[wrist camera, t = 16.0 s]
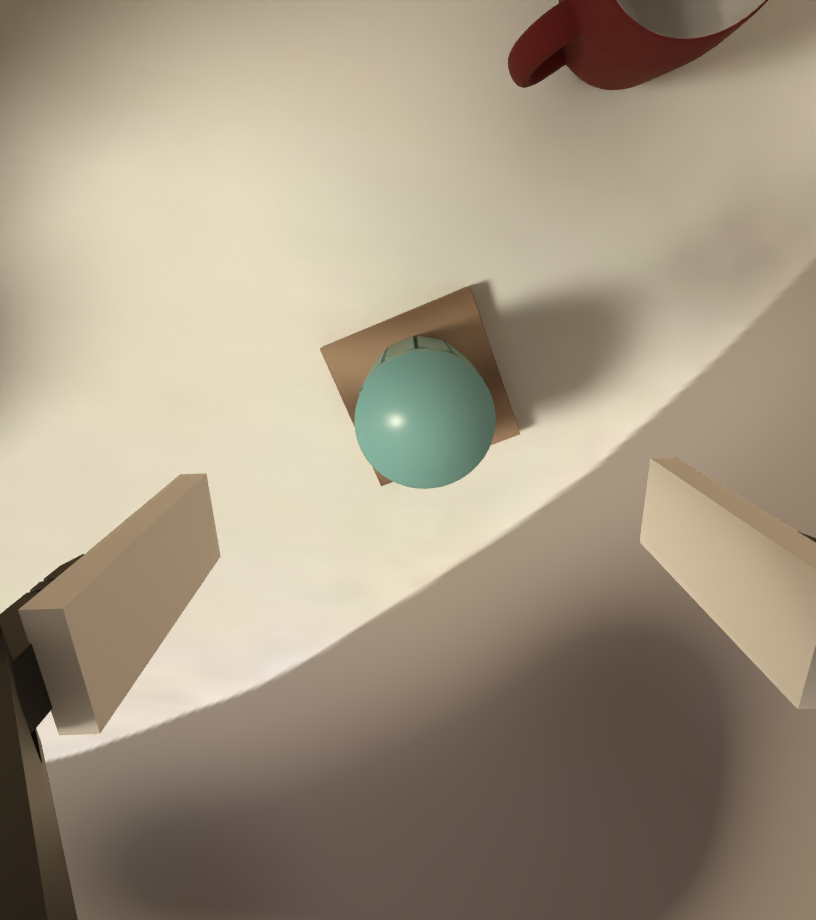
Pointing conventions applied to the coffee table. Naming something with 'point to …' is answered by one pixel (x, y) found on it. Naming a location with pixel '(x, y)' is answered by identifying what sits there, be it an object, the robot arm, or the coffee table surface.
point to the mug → (623, 38)
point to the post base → (435, 319)
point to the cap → (424, 414)
